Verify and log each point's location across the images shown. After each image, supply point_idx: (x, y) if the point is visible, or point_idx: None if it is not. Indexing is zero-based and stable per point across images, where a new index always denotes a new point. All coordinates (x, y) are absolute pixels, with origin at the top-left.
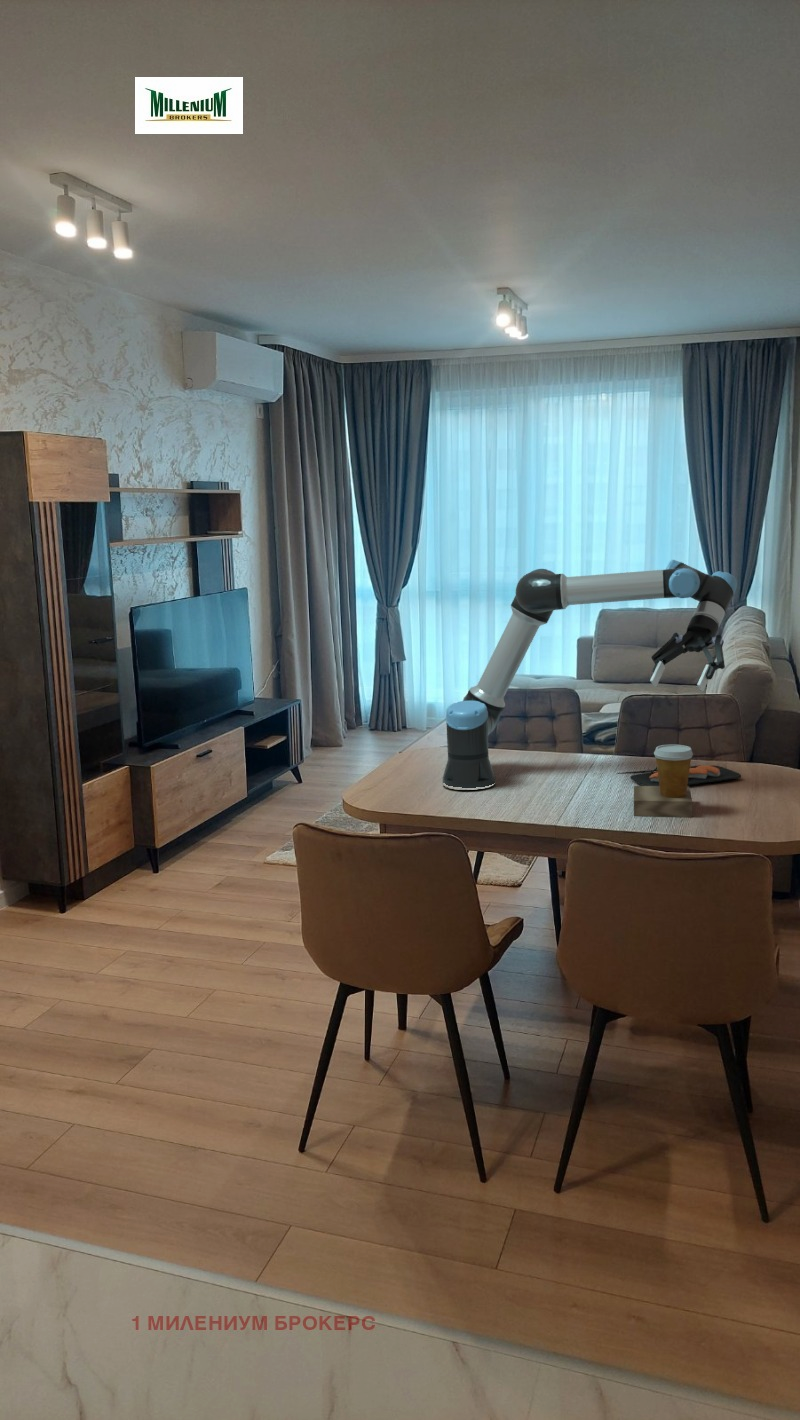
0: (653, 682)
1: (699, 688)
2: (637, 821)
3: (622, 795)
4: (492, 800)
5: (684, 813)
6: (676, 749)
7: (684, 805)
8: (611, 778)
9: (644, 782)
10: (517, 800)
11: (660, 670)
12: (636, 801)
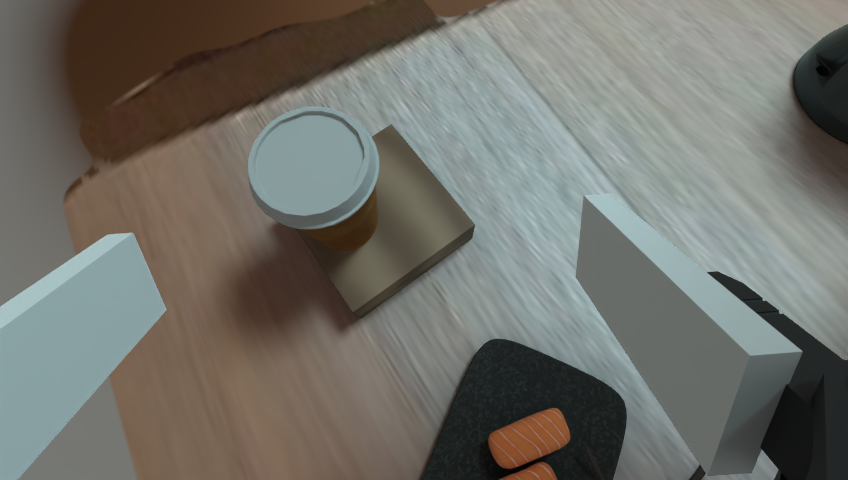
0: (583, 221)
1: (152, 281)
2: (367, 122)
3: (524, 257)
4: (703, 46)
5: None
6: (302, 167)
7: None
8: None
9: (555, 384)
10: (666, 77)
11: (656, 330)
12: (386, 128)
